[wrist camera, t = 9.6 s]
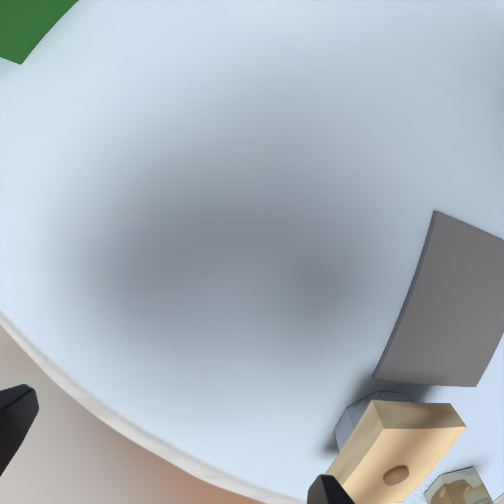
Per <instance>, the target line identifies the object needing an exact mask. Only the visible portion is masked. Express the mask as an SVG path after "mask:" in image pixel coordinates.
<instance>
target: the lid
mask: <svg viewBox="0 0 504 504" xmlns="http://www.w3.org/2000/svg"><path fill="white" fill-rule="evenodd" d="M465 427H466V425H465V424H464V422H463V421H462V419H461V418H460V417H459V415H458V414H457V412H456V411H455V410H454V408H453V407H452V405H451V404H450V403H414V402H395V401H382V400H371V402H370V403H369V405H368V407H367V409H366V411H365V412H364V414H363V416H362V417H361V419H360V421H359V423H358V424H357V426H356V427H355V429H354V431H353V432H352V434H351V436H350V437H349V439H348V440H347V442H346V443H345V445H344V447H343V448H342V450H341V451H340V453H339V454H338V456H337V457H336V459H335V460H334V462H333V463H332V464H331V466H330V467H329V469H328V470H327V472H326V473H325V475H333V476H334V477H335V478H336V480H337V481H338V482H339V483H340V485H341V486H342V487H343V489H344V490H345V491H346V492H347V494H348V495H349V496H350V497H351V499H352V500H353V501H354V502H355V504H389V503H398V502H402V501H403V500H404V499H405V498H406V497H407V496H408V495H409V494H410V493H411V492H412V491H413V490H414V489H415V488H416V487H417V486H418V485H419V484H420V483H421V482H422V481H423V480H424V478H425V477H426V476H427V475H428V474H429V473H430V472H431V471H432V470H433V468H434V467H435V466H436V465H437V464H438V462H439V461H440V460H441V459H442V458H443V456H444V455H445V454H446V453H447V451H448V450H449V449H450V448H451V446H452V445H453V444H454V442H455V441H456V440H457V438H458V437H459V436H460V434H461V433H462V432H463V430H464V429H465Z"/></svg>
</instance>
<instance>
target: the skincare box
mask: <svg viewBox="0 0 504 504" xmlns="http://www.w3.org/2000/svg"><path fill="white" fill-rule="evenodd" d="M424 496H425V499H426V501H427V504H494V503H493V501H492V499H491V497H490V495H489V493H488V491H487V489H486V487H485V486H484V484H483V482H482V480H481V478H480V476H479V474H478V473H477V471H476V469H475V467H471V468H468V469H464V470H459V471H455V472H451V473H447V474H442V475H440V476H439V477H438V478H437V479H436V481H435V482H434V483H433V484H432V485H431V486H430V487H429V489H428V490H427V491H426V492H425V493H424Z"/></svg>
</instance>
